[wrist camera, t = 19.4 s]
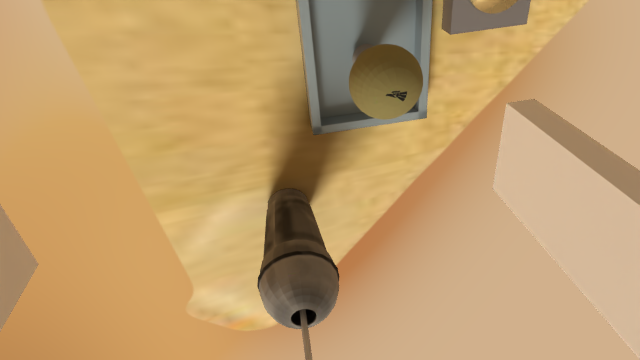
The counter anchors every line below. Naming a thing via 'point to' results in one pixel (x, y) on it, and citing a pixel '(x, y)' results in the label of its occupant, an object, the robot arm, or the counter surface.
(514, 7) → the tester
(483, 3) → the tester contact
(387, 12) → the tray
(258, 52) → the counter surface
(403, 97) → the light bulb
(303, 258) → the beverage cup
